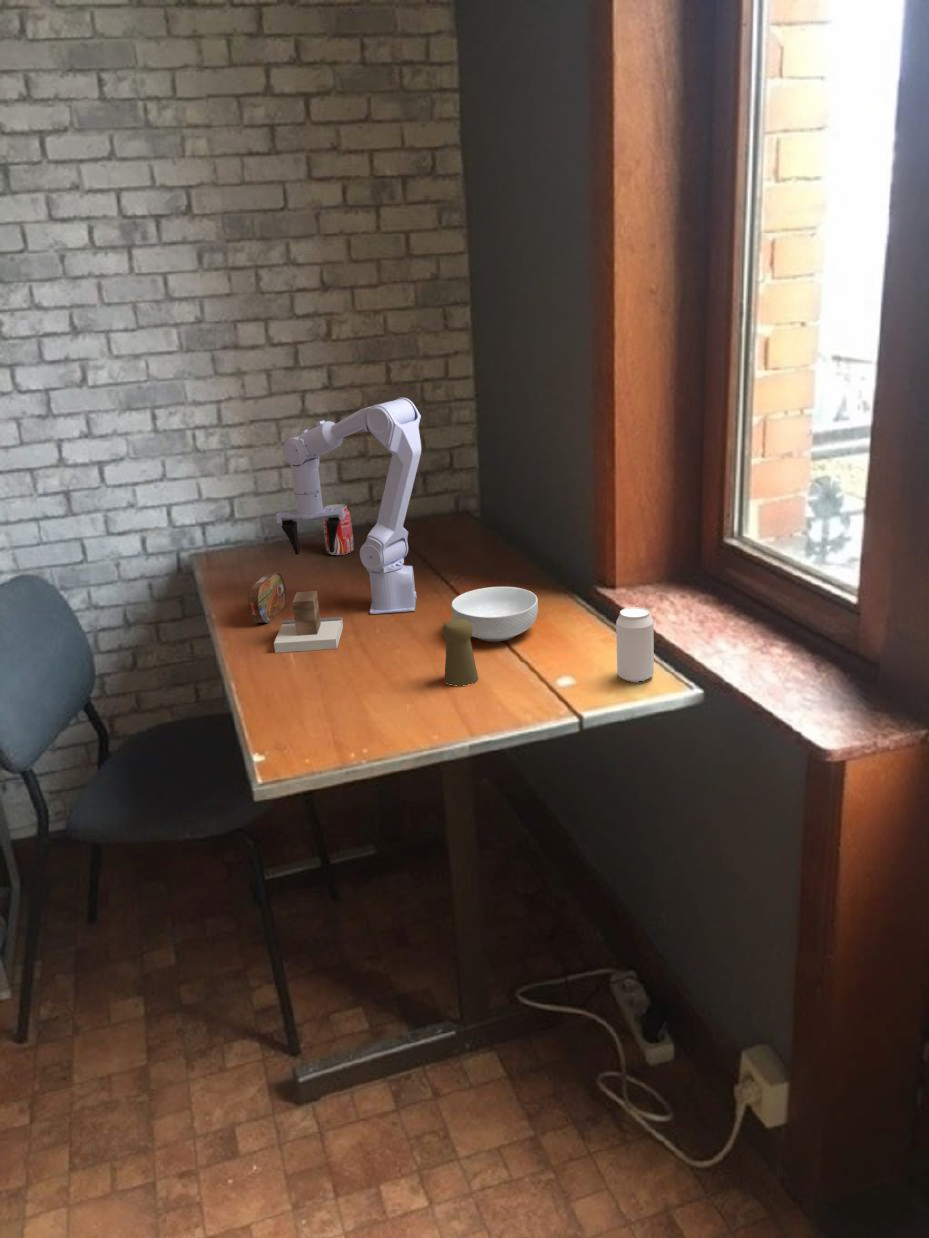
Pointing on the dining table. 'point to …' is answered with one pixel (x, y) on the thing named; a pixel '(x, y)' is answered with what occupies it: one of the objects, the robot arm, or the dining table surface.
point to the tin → (267, 598)
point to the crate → (306, 613)
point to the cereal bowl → (496, 611)
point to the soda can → (340, 533)
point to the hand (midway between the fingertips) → (315, 552)
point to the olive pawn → (459, 653)
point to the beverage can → (635, 644)
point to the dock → (309, 636)
